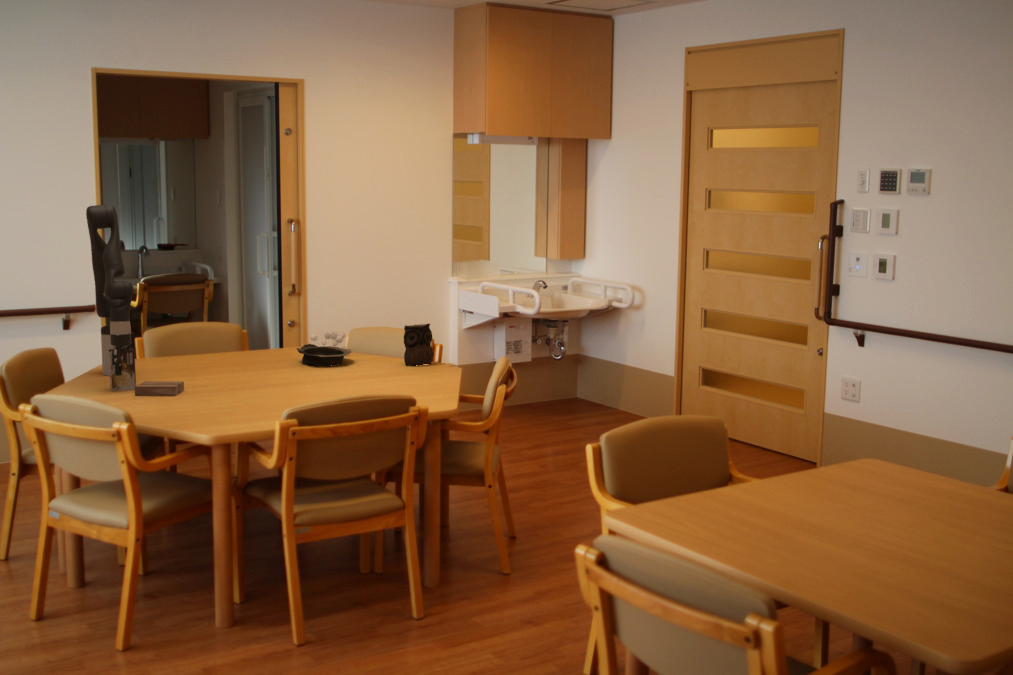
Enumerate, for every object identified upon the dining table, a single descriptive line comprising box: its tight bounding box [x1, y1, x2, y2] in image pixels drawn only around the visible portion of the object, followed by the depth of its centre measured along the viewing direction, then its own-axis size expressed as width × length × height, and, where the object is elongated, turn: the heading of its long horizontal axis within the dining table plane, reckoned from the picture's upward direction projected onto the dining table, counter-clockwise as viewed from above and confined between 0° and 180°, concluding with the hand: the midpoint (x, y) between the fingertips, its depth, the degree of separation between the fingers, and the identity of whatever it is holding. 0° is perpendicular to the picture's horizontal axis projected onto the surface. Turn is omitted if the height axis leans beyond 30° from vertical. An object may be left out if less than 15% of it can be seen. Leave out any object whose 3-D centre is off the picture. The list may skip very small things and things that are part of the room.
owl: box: [403, 323, 435, 367], centre depth 448 cm, size 13×13×20 cm
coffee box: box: [109, 347, 137, 392], centre depth 382 cm, size 9×6×16 cm
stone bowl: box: [296, 343, 352, 367], centre depth 448 cm, size 25×25×9 cm
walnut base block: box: [134, 380, 185, 397], centre depth 377 cm, size 12×15×4 cm
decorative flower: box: [307, 331, 347, 359], centre depth 471 cm, size 25×22×14 cm
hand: (122, 373), depth 382 cm, fingers open, 8 cm apart
